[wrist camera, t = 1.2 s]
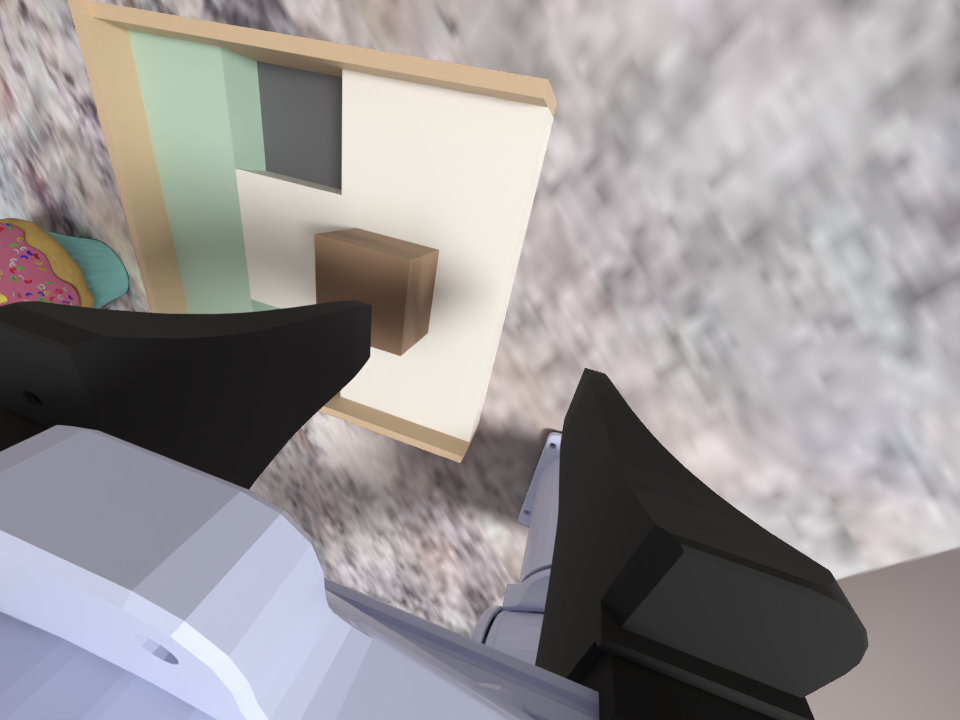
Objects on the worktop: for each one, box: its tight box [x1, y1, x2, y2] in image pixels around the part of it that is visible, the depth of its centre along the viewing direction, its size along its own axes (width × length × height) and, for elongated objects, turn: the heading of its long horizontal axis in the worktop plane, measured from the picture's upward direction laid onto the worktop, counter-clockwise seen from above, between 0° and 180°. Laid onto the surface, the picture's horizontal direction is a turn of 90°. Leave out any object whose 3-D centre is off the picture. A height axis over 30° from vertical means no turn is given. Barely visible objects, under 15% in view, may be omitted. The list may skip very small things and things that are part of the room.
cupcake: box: [0, 218, 129, 309], centre depth 25 cm, size 9×8×12 cm
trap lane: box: [68, 0, 557, 463], centre depth 21 cm, size 20×24×4 cm
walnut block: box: [314, 228, 439, 356], centre depth 19 cm, size 5×5×4 cm
